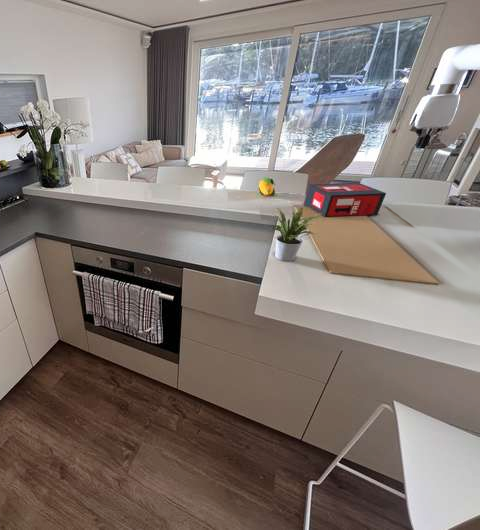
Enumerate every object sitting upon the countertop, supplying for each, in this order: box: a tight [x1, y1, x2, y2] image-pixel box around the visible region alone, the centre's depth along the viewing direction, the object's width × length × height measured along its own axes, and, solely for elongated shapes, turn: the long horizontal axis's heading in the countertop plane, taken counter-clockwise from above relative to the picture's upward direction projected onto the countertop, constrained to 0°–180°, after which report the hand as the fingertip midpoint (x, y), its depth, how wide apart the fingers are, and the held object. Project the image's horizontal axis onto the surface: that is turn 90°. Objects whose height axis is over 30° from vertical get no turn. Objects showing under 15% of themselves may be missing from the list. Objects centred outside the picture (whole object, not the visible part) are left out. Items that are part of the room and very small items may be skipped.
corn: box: [258, 177, 276, 197], centre depth 144 cm, size 7×8×20 cm
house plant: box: [270, 206, 324, 262], centre depth 85 cm, size 14×14×16 cm
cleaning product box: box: [303, 182, 387, 217], centre depth 119 cm, size 16×9×20 cm
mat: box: [294, 205, 440, 285], centre depth 101 cm, size 24×58×1 cm, turn 161°
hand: (420, 148), depth 106 cm, fingers closed
